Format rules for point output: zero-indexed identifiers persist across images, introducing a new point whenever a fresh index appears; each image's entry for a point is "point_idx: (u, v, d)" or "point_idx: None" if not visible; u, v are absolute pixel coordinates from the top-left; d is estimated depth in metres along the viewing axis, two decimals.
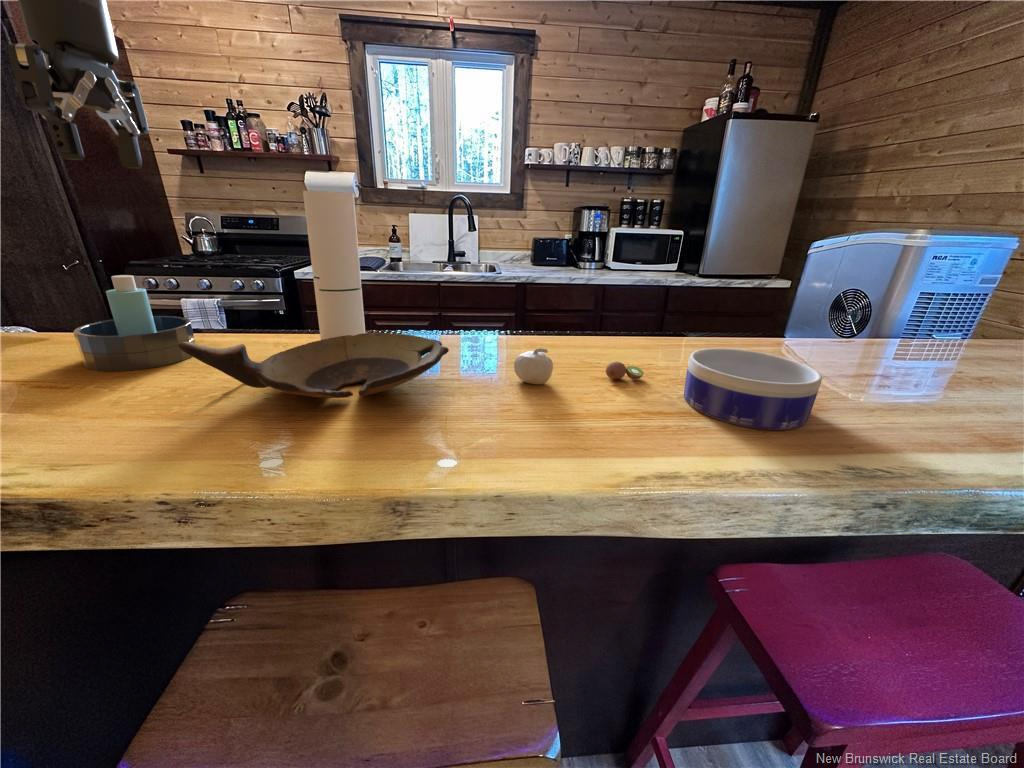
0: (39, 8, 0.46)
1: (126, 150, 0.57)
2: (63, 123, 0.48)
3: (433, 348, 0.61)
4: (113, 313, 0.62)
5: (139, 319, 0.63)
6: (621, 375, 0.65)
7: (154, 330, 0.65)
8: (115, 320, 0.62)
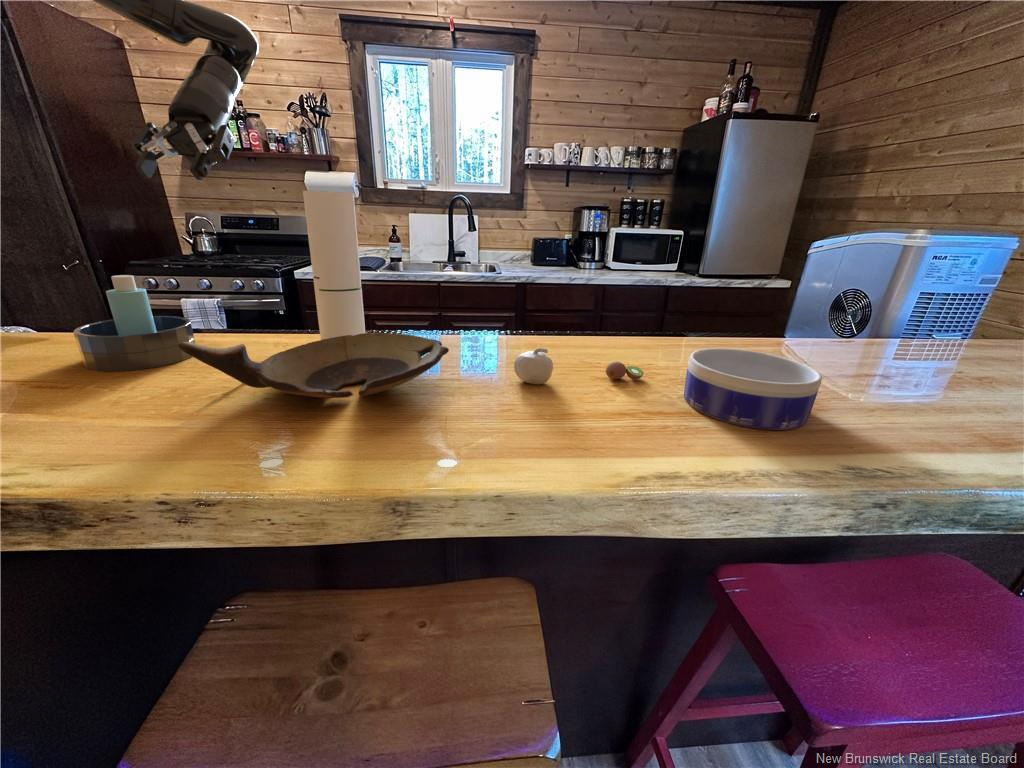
0: (222, 117, 0.75)
1: (149, 164, 0.70)
2: None
3: (433, 348, 0.61)
4: (113, 313, 0.62)
5: (139, 319, 0.63)
6: (621, 375, 0.65)
7: (154, 330, 0.65)
8: (115, 320, 0.62)
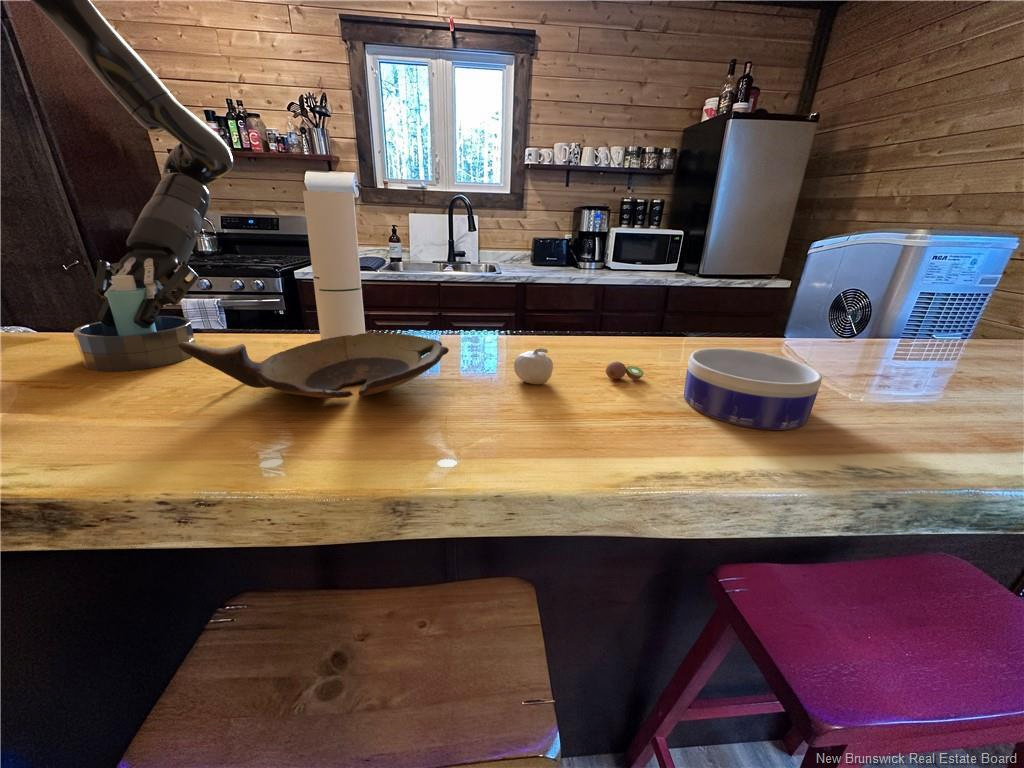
0: (187, 244, 0.69)
1: None
2: None
3: (433, 348, 0.61)
4: (113, 313, 0.62)
5: None
6: (621, 375, 0.65)
7: (154, 330, 0.65)
8: (115, 320, 0.62)
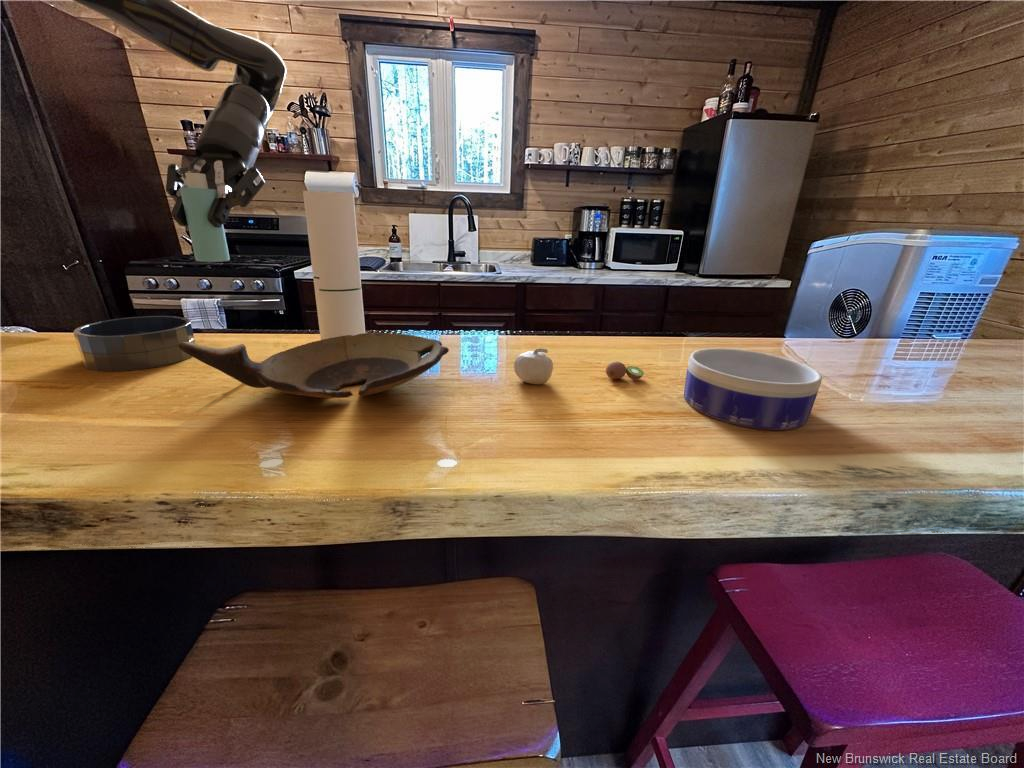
0: (252, 152, 0.69)
1: None
2: None
3: (433, 348, 0.61)
4: (186, 210, 0.62)
5: None
6: (621, 375, 0.65)
7: (223, 232, 0.66)
8: (188, 218, 0.62)
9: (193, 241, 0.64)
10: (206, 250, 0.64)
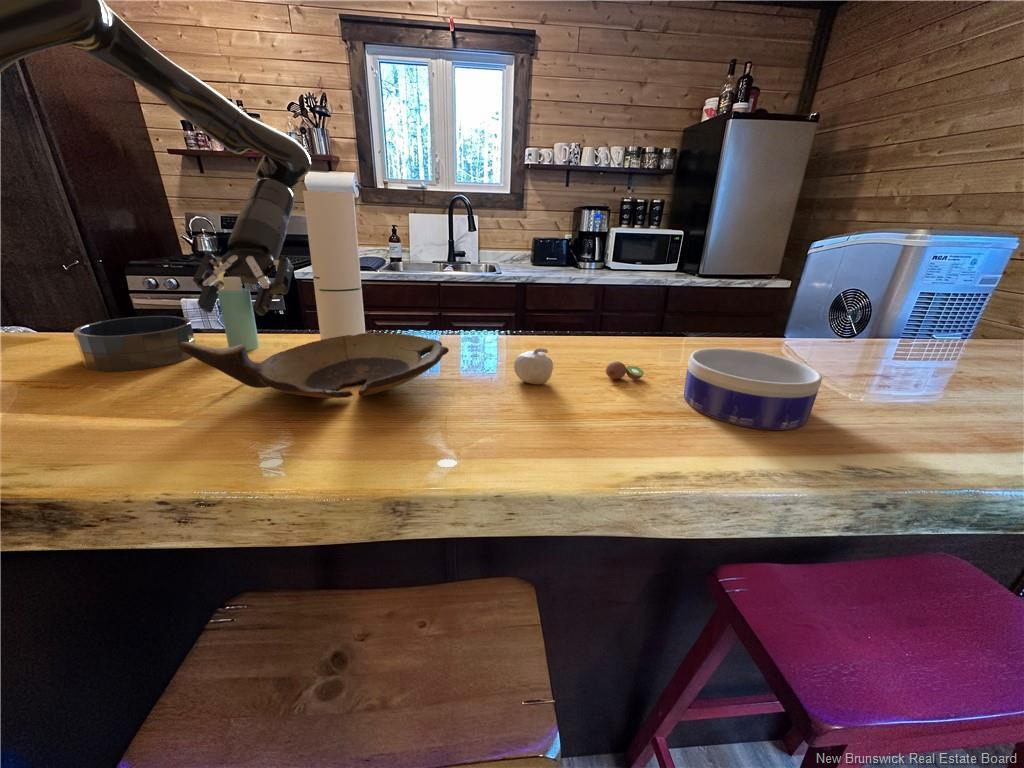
0: (279, 243, 0.75)
1: (211, 299, 0.70)
2: None
3: (433, 348, 0.61)
4: (223, 311, 0.68)
5: (245, 316, 0.69)
6: (621, 375, 0.65)
7: (255, 326, 0.72)
8: (224, 317, 0.69)
9: (228, 337, 0.70)
10: None
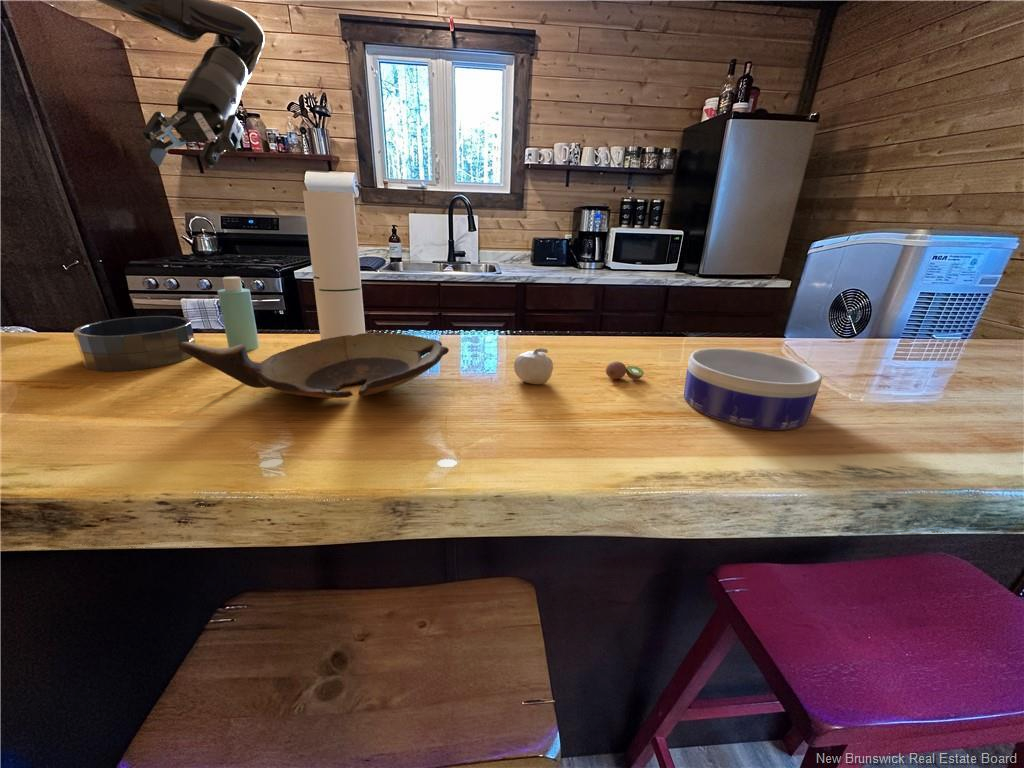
0: (230, 107, 0.76)
1: (158, 152, 0.70)
2: None
3: (433, 348, 0.61)
4: (223, 311, 0.68)
5: (245, 316, 0.69)
6: (621, 375, 0.65)
7: (255, 326, 0.72)
8: (224, 317, 0.69)
9: (228, 337, 0.70)
10: None
